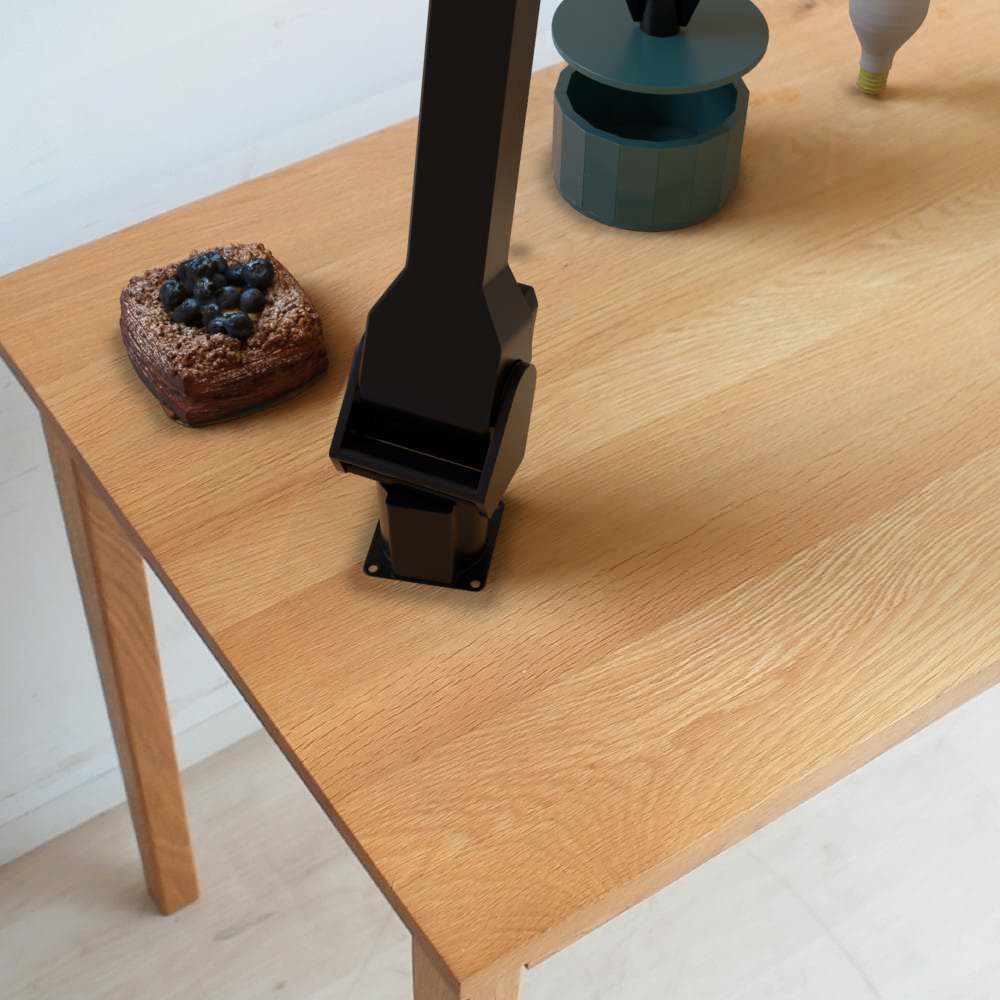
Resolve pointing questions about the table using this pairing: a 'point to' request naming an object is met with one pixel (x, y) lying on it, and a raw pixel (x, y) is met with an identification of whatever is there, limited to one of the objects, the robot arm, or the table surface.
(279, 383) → the pastry
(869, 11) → the light bulb
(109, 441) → the table surface
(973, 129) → the table surface
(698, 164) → the pot
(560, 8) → the lid
